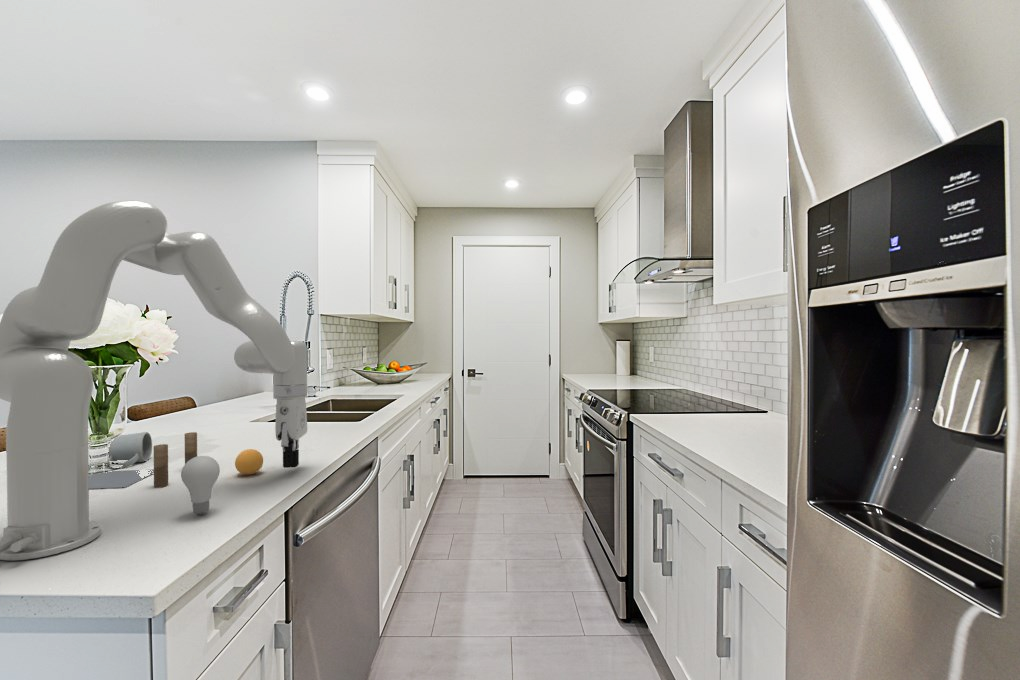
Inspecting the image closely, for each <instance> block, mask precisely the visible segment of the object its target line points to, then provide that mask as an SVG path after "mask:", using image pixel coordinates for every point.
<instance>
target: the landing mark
mask: <svg viewBox="0 0 1020 680" xmlns="http://www.w3.org/2000/svg"><path fill="white" fill-rule="evenodd" d="M139 470H140V469H133V470H131V469H130V470H129V469H127V470H111V471H112V472H107V473H106V472H105V473H100V474H94V473H92V474H90V475H89V490H102V489H101V488H113V489H123V488H122V487H126V488H128V487H129V485H130V486H132V485H134V484H136V483H138V482H140V481H142V480H143V479H142V478H141V477H140V476H139V474H140V473H138V471H139ZM149 470H150V471H151V470H152V471H153V472H152V471H151V473H150V474H152V473H154V468H153V469H149ZM136 471H137V472H136ZM150 471H148V472H150ZM139 472H140V471H139ZM137 473H138V474H137ZM148 474H149V473H148ZM152 475H153V474H152ZM144 477H145V476H144ZM141 479H142V480H141ZM139 480H140V481H139ZM137 481H138V482H137ZM135 482H136V483H135ZM133 483H134V484H133ZM131 484H132V485H131ZM127 486H128V487H127Z"/></svg>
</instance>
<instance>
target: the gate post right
mask: <svg viewBox="0 0 1020 680" xmlns="http://www.w3.org/2000/svg"><path fill="white" fill-rule="evenodd" d="M194 457H198V432H197V431H193V432H185V433H184V465H185V464H186V463H187V462H188V461H189V460H191V459H192V458H194Z"/></svg>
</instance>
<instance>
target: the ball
mask: <svg viewBox="0 0 1020 680" xmlns="http://www.w3.org/2000/svg"><path fill="white" fill-rule="evenodd" d="M263 465H264V457H263V455H262V453H261V452H260V451H259V450H256V449H253V448H250V449H249V448H248V449H245V450H242V451H241V452H240V453H238V455H237V456H236V458H235V461H234V466H235V469H236V470H237V472H239V474H240V475H241V474H242V475H245V476H249V475H254V474H256V473H257V472H259V470H261V468H262V466H263Z"/></svg>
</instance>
